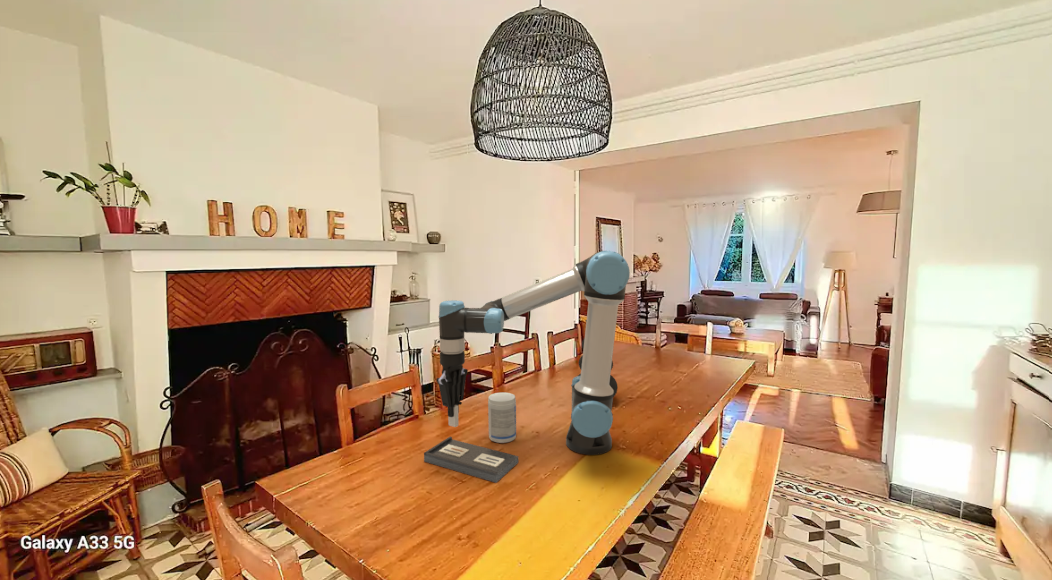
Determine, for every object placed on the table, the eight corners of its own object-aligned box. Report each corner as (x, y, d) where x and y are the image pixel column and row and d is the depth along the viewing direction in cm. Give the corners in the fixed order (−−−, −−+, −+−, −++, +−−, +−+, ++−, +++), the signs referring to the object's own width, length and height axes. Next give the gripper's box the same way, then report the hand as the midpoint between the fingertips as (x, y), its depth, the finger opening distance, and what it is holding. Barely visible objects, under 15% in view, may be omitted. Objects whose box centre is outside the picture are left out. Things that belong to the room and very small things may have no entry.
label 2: (504, 460, 131) (504, 458, 131) (496, 467, 126) (496, 466, 126) (482, 454, 135) (482, 452, 135) (473, 461, 130) (473, 459, 130)
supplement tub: (521, 439, 149) (521, 398, 148) (497, 446, 144) (497, 403, 142) (506, 429, 157) (506, 390, 156) (483, 435, 152) (483, 395, 150)
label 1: (469, 450, 137) (469, 449, 137) (459, 457, 132) (459, 456, 132) (448, 445, 141) (448, 444, 141) (438, 451, 136) (438, 450, 136)
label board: (518, 462, 133) (518, 453, 133) (496, 482, 122) (496, 473, 122) (450, 444, 145) (450, 436, 145) (424, 461, 134) (423, 452, 134)
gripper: (455, 345, 141) (456, 415, 143) (428, 354, 129) (430, 430, 132) (474, 348, 137) (475, 420, 140) (448, 357, 126) (450, 435, 128)
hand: (453, 425), depth 136 cm, fingers closed
